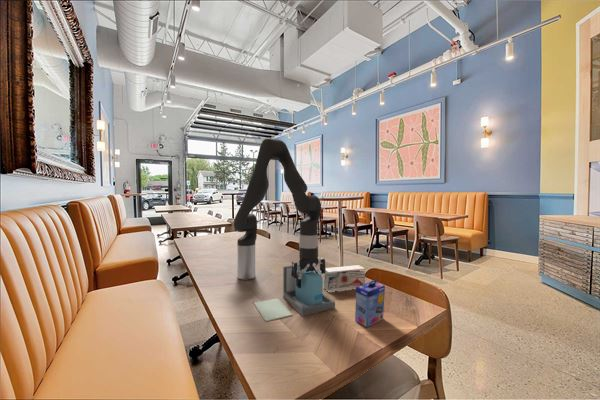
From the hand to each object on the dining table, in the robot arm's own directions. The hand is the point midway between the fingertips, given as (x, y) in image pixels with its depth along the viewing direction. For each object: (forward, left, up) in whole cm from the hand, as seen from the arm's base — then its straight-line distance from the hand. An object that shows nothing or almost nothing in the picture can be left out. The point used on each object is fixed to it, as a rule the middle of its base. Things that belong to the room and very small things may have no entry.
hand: (308, 286), depth 98 cm
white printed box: (-7, +23, -7) cm, 25 cm away
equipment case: (0, 0, -7) cm, 7 cm away
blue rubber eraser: (0, 0, -7) cm, 7 cm away
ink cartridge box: (+21, +13, -7) cm, 26 cm away
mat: (-1, -15, -7) cm, 17 cm away
